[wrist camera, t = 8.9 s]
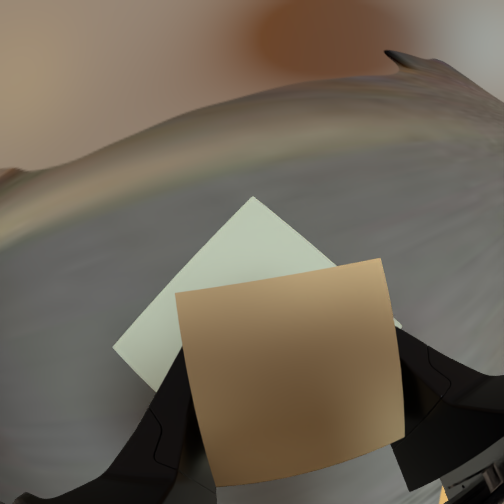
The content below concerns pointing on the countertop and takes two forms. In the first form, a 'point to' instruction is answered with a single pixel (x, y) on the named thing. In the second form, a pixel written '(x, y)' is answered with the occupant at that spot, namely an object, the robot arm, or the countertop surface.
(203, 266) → the board
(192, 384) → the wooden footstool
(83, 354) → the countertop surface
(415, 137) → the countertop surface
